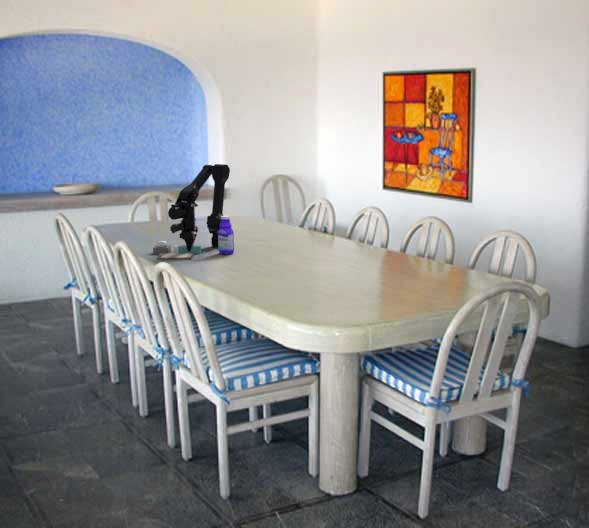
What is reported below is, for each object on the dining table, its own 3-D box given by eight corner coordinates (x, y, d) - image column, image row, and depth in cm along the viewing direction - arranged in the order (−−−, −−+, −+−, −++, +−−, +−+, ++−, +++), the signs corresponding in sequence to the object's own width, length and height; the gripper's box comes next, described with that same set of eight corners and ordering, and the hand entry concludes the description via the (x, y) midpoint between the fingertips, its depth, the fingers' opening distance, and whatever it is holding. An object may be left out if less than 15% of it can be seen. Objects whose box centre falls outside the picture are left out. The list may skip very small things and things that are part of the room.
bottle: (216, 253, 354) (215, 216, 351) (223, 251, 359) (222, 214, 356) (229, 255, 351) (228, 217, 347) (236, 253, 356) (235, 215, 352)
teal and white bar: (201, 252, 358) (200, 245, 357) (200, 253, 355) (199, 246, 354) (175, 252, 358) (175, 245, 357) (174, 254, 355) (173, 246, 354)
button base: (170, 251, 361) (170, 245, 360) (168, 254, 354) (168, 247, 353) (156, 251, 361) (155, 245, 360) (153, 254, 354) (152, 247, 353)
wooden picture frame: (194, 254, 353) (194, 251, 353) (190, 259, 342) (190, 256, 342) (161, 254, 353) (161, 251, 353) (157, 259, 342) (156, 256, 342)
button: (167, 247, 359) (166, 240, 358) (165, 248, 355) (165, 242, 354) (158, 247, 359) (158, 240, 358) (156, 248, 355) (156, 242, 354)
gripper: (174, 214, 362) (175, 247, 365) (167, 220, 344) (168, 254, 347) (198, 214, 362) (199, 246, 365) (192, 220, 344) (193, 254, 347)
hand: (189, 250), depth 356 cm, fingers closed on teal and white bar, 3 cm apart
